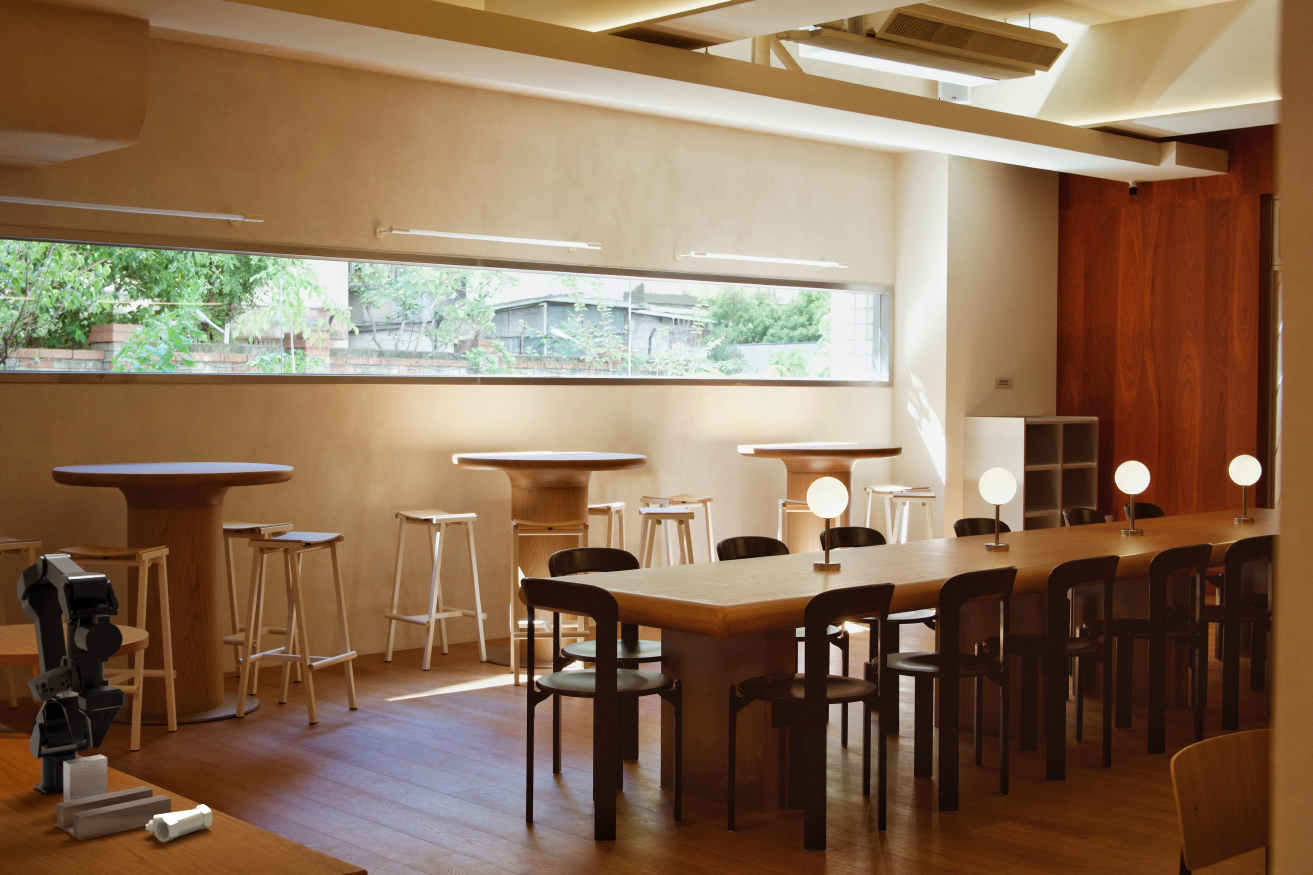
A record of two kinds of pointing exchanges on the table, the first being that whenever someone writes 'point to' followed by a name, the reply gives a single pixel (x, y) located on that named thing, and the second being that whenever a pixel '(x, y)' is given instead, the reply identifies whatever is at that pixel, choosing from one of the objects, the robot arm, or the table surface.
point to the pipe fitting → (179, 823)
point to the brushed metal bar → (85, 777)
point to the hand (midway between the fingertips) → (85, 742)
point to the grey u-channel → (111, 812)
